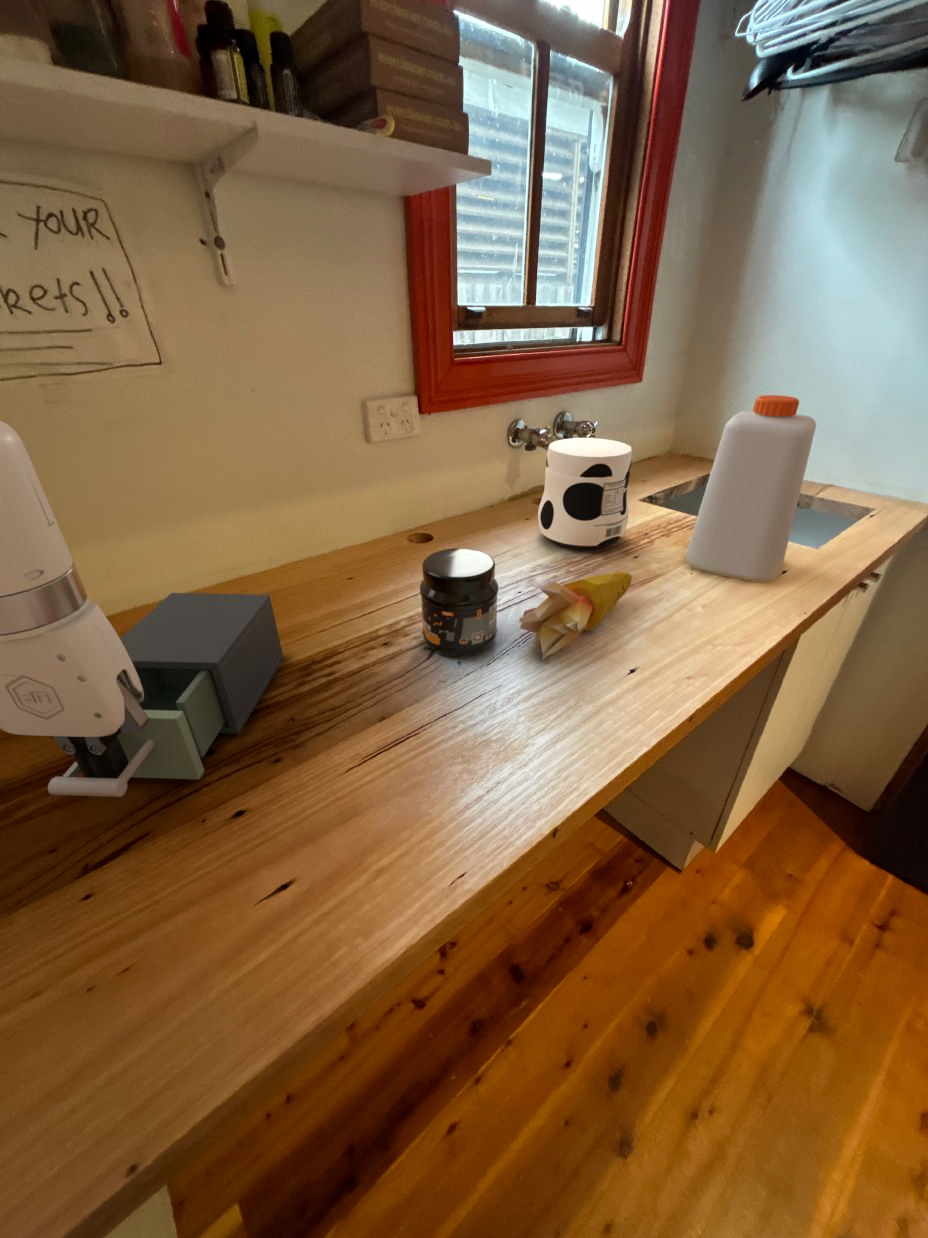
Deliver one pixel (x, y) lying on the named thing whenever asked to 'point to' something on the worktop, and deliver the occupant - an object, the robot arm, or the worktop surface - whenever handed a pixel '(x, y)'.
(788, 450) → the plastic bottle
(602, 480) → the milk container
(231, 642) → the cabinet
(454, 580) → the supplement container
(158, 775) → the drawer
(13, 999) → the worktop surface
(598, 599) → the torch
